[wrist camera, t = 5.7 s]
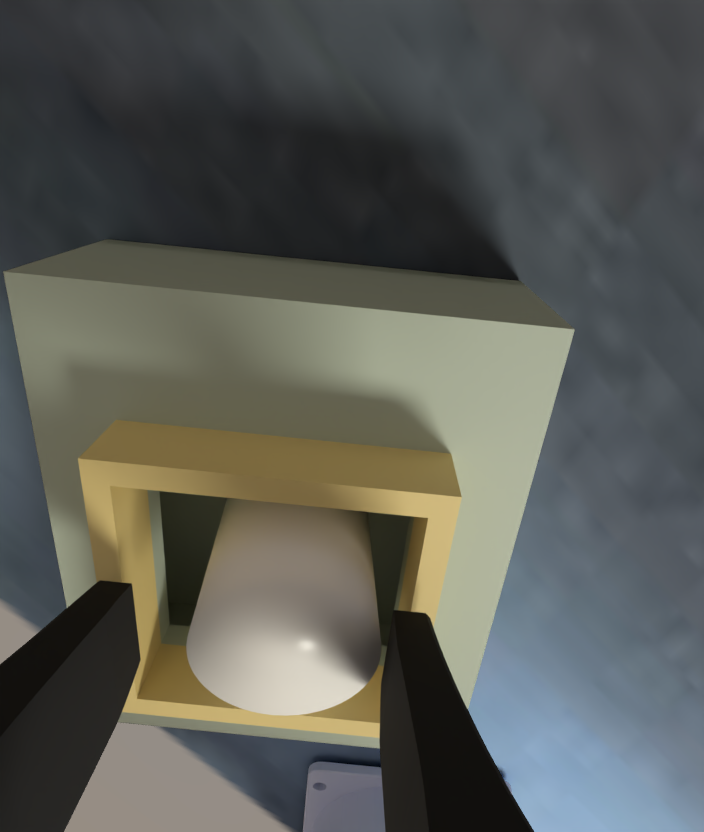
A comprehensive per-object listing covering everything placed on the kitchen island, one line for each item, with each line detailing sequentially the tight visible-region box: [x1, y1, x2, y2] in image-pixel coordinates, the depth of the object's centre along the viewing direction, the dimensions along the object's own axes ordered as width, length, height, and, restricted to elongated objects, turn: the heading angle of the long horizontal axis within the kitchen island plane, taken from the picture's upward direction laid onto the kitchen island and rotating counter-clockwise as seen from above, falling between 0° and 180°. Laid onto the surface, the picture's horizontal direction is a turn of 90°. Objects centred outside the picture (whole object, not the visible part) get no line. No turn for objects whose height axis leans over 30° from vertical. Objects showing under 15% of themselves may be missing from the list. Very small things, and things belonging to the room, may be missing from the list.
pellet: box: [186, 498, 381, 716], centre depth 13 cm, size 4×4×6 cm
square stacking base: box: [3, 239, 575, 748], centre depth 13 cm, size 12×10×6 cm
